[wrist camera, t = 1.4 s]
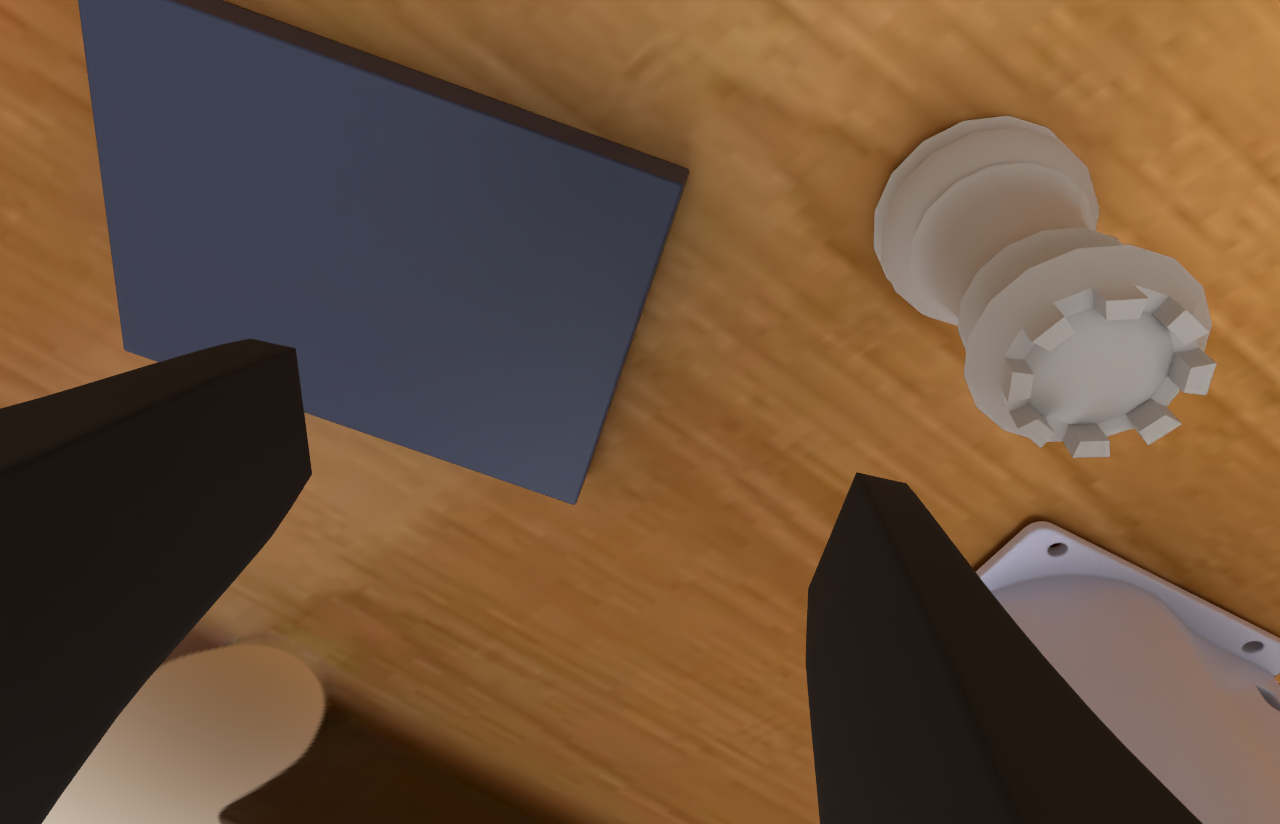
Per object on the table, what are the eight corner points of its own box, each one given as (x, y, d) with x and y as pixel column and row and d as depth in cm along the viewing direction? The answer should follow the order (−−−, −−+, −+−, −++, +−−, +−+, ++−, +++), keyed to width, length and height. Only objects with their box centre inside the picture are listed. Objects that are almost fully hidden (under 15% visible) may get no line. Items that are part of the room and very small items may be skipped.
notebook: (690, 168, 17) (683, 185, 16) (586, 476, 22) (575, 506, 21) (125, -36, 16) (71, -36, 15) (159, 329, 22) (122, 350, 21)
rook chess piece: (1017, 64, 15) (1224, 142, 8) (1113, 228, 16) (1358, 413, 9) (832, 200, 17) (873, 354, 10) (932, 336, 18) (1026, 552, 11)
